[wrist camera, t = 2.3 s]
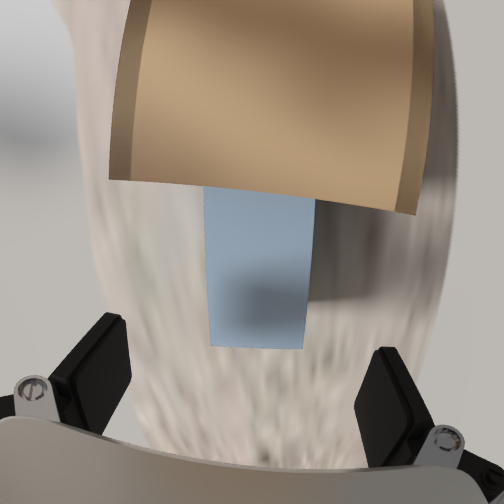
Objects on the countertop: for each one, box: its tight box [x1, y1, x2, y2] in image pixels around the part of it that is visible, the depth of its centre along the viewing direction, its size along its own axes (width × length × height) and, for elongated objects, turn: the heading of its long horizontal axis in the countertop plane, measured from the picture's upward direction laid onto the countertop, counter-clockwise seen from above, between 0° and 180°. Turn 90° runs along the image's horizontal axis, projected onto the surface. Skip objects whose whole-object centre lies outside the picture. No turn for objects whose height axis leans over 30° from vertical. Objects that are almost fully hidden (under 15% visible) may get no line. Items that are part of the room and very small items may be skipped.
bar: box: [204, 186, 315, 349], centre depth 16 cm, size 12×4×5 cm, turn 0°
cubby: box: [109, 0, 434, 215], centre depth 11 cm, size 12×10×8 cm
